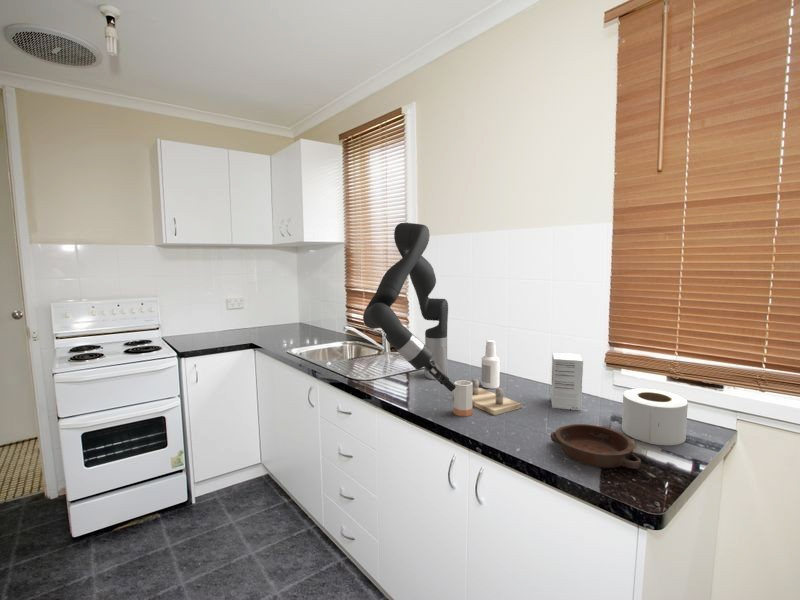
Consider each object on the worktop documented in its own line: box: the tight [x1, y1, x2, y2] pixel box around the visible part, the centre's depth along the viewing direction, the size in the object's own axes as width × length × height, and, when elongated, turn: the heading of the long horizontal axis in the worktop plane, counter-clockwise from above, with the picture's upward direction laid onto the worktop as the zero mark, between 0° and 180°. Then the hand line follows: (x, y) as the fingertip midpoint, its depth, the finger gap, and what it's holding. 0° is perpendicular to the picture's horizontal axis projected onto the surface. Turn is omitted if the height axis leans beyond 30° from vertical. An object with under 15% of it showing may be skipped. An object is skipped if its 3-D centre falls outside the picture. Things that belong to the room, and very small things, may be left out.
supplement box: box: [550, 352, 584, 411], centre depth 140 cm, size 10×9×17 cm
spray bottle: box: [480, 339, 501, 390], centre depth 161 cm, size 7×7×18 cm
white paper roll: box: [621, 388, 689, 446], centre depth 117 cm, size 16×15×11 cm
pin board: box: [471, 378, 522, 416], centre depth 143 cm, size 20×12×6 cm, turn 31°
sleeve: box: [453, 379, 474, 417], centre depth 134 cm, size 6×6×10 cm
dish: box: [550, 423, 642, 470], centre depth 105 cm, size 18×22×5 cm
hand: (450, 385), depth 133 cm, fingers open, 8 cm apart
